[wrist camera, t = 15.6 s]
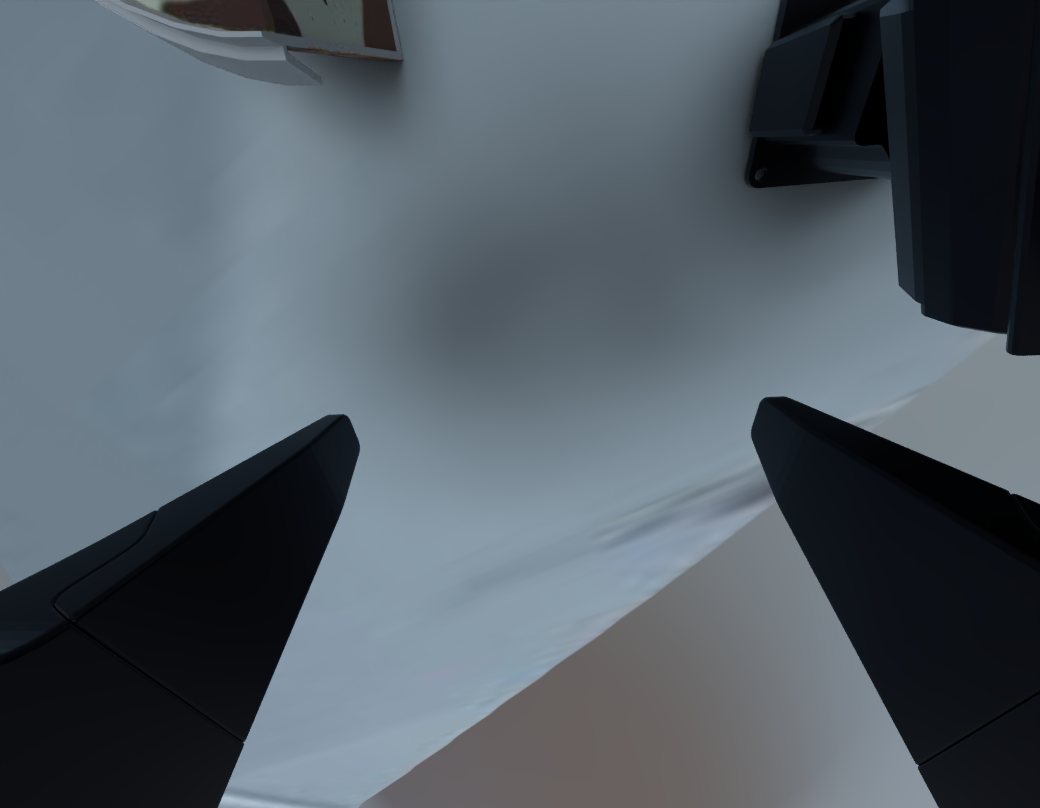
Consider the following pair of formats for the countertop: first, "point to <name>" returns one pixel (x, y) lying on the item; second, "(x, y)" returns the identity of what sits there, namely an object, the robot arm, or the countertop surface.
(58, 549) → the countertop surface
